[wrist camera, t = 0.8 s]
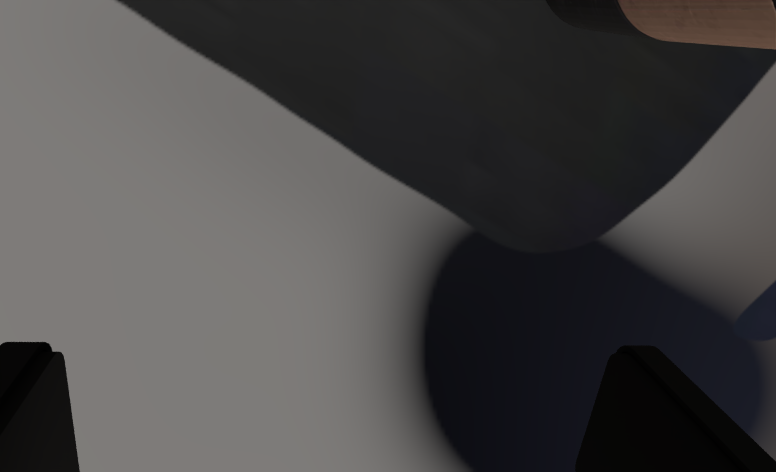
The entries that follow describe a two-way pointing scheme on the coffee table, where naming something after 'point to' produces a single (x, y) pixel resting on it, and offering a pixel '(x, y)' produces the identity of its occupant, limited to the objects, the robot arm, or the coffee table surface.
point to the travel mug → (677, 19)
